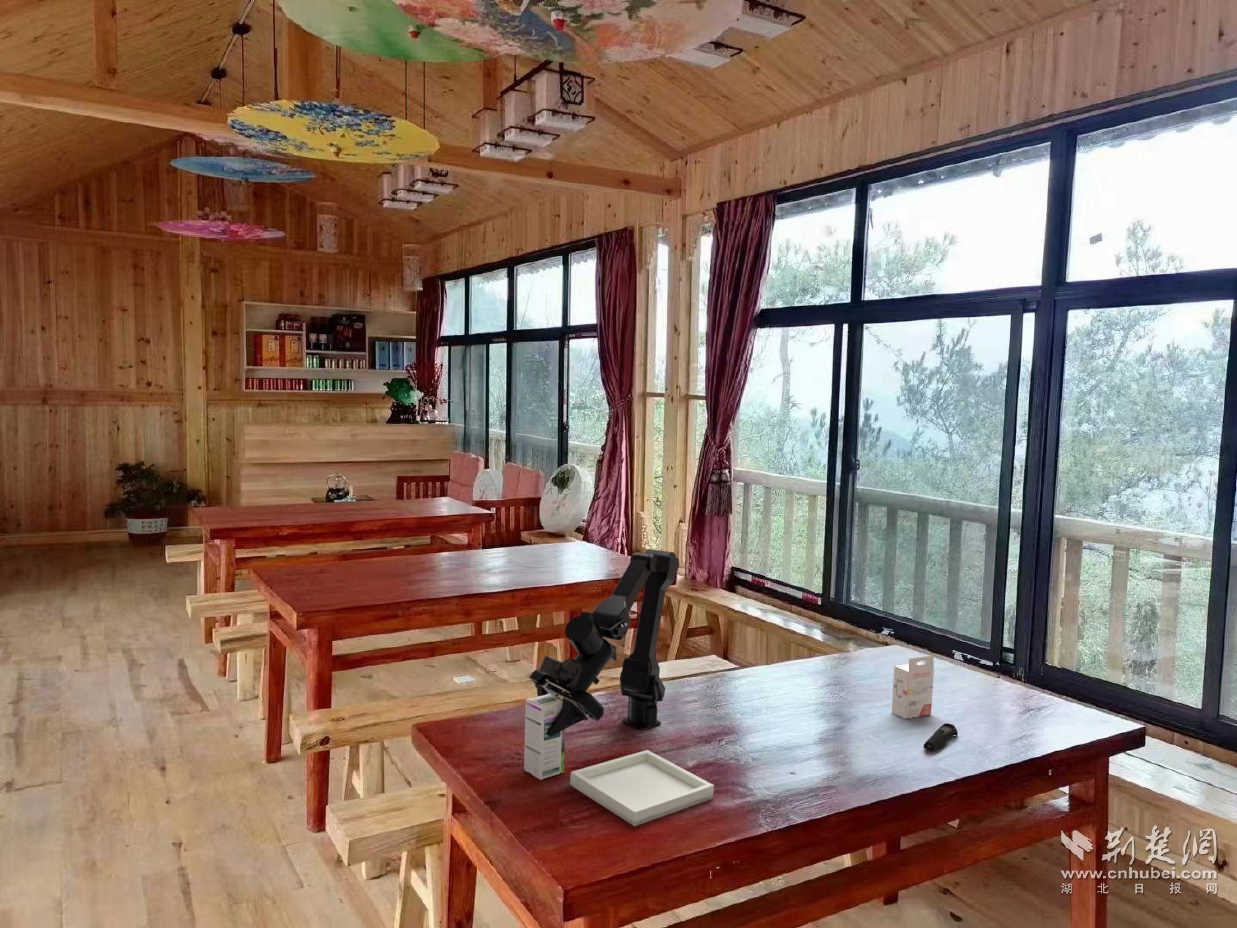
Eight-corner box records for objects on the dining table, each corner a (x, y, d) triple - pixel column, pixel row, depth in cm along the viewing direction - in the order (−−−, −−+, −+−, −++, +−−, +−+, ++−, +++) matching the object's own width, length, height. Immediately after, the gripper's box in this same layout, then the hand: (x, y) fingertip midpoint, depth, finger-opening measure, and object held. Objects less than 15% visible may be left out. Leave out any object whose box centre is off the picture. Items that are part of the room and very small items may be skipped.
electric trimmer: (917, 752, 189) (919, 738, 189) (942, 732, 201) (943, 718, 201) (935, 757, 187) (936, 743, 187) (958, 736, 199) (959, 723, 199)
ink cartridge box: (915, 708, 216) (920, 649, 215) (931, 715, 211) (936, 655, 210) (890, 712, 212) (894, 653, 211) (905, 719, 207) (909, 659, 206)
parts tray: (570, 784, 165) (570, 771, 165) (646, 761, 177) (647, 749, 177) (634, 826, 150) (635, 812, 150) (713, 798, 162) (713, 785, 162)
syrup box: (540, 780, 166) (543, 706, 165) (522, 769, 170) (525, 697, 169) (564, 773, 170) (567, 700, 169) (546, 762, 174) (549, 691, 173)
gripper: (539, 629, 178) (489, 692, 172) (594, 653, 163) (542, 722, 157) (569, 661, 183) (522, 723, 177) (625, 687, 169) (576, 755, 163)
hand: (539, 730), depth 169 cm, fingers closed on syrup box, 6 cm apart
